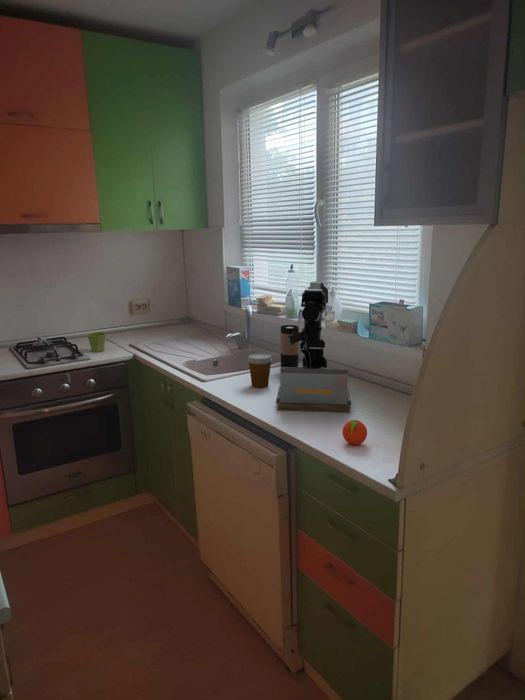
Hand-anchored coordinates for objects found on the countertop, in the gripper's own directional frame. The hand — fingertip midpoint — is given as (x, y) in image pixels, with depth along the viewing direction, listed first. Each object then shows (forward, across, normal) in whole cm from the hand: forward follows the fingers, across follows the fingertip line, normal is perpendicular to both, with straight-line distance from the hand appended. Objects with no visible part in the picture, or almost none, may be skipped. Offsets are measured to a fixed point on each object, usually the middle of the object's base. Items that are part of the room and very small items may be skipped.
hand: (310, 369), depth 180 cm
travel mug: (+2, -39, -3) cm, 40 cm away
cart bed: (+12, 0, +1) cm, 12 cm away
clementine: (+21, +34, +8) cm, 41 cm away
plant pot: (-5, -87, -95) cm, 129 cm away
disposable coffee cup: (+7, -22, -16) cm, 29 cm away
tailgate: (+12, +8, 0) cm, 14 cm away
